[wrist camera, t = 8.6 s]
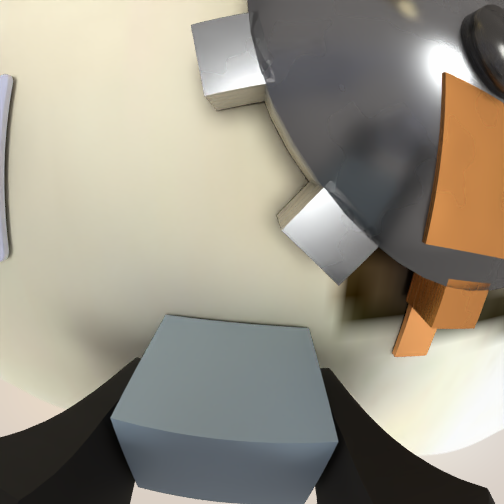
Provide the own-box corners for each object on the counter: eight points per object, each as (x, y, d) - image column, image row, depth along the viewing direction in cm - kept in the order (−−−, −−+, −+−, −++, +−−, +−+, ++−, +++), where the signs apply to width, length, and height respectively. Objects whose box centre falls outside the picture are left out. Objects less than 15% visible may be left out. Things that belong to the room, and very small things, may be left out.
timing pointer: (392, 352, 11) (394, 356, 10) (408, 304, 10) (412, 307, 10) (423, 351, 11) (426, 355, 10) (440, 305, 10) (443, 308, 10)
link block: (171, 388, 11) (138, 486, 6) (165, 314, 10) (110, 417, 5) (292, 399, 11) (303, 504, 6) (308, 327, 10) (338, 441, 5)
